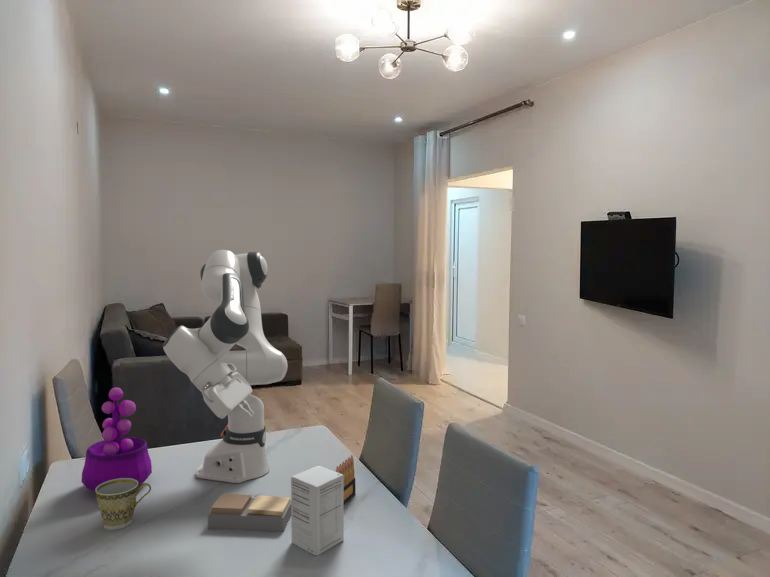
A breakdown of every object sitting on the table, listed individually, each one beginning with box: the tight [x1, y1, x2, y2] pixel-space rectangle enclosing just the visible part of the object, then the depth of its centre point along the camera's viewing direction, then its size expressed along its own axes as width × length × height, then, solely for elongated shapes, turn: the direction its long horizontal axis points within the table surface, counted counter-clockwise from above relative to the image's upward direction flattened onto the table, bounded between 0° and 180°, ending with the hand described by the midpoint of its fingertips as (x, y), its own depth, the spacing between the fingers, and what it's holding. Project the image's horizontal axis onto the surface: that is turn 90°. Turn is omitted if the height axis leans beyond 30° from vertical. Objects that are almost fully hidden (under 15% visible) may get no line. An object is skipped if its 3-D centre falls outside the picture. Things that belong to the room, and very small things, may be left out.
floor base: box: [207, 493, 291, 533], centre depth 144 cm, size 20×10×5 cm, turn 86°
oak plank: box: [248, 494, 291, 516], centre depth 144 cm, size 9×8×1 cm
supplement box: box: [290, 465, 345, 557], centre depth 134 cm, size 10×9×17 cm
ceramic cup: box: [95, 478, 152, 531], centre depth 142 cm, size 13×10×10 cm
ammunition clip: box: [335, 454, 357, 506], centre depth 156 cm, size 11×2×12 cm, turn 157°
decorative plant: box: [81, 387, 153, 493], centre depth 162 cm, size 19×19×30 cm
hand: (251, 417), depth 143 cm, fingers closed
